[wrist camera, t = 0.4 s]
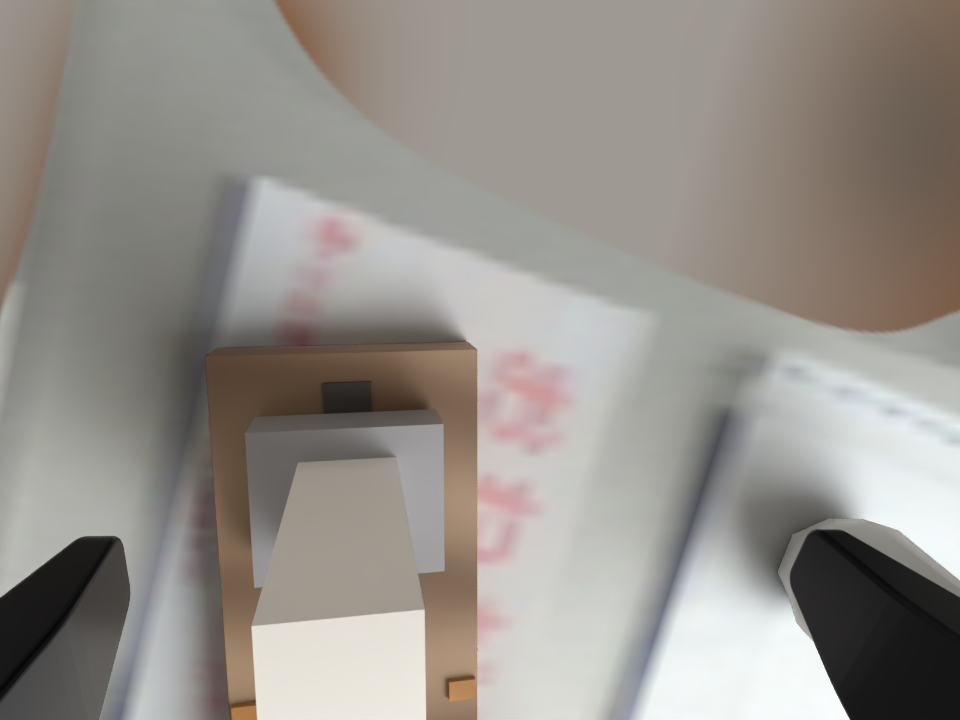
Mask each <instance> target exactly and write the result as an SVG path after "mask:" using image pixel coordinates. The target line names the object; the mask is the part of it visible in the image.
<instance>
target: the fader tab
mask: <svg viewBox="0 0 960 720" xmlns="http://www.w3.org/2000/svg"><path fill="white" fill-rule="evenodd" d="M245 443H246V459H247V476H248V492H249V509H250V525H251V542H252V559H253V575H254V588H259V587H262V591H261V594H260V598H259V601H258V605H257V608H256V612H255V615H254V619H253V622H252V626H251V629H252V645H253V661H254V677H255V693H256V709H257V720H426V672H425V609H424V603H423V598H422V593H421V587H420V582H419V576H418V574H419V573H430V572H441V571H445V552H444V434H443V422H442V420H441V418H440V416H439V414H438V412H437V410H436V409H427V410H404V411H380V412H357V413H333V414H310V415H286V416H263V417H255V418H254V419H253V421H252V423H251V424H250V426H249V428H248V429H247V431H246V432H245Z"/></svg>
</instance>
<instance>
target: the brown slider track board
mask: <svg viewBox="0 0 960 720" xmlns="http://www.w3.org/2000/svg"><path fill="white" fill-rule="evenodd" d="M205 365H206V379H207V394H208V408H209V422H210V437H211V451H212V465H213V480H214V494H215V509H216V523H217V537H218V552H219V566H220V581H221V595H222V609H223V624H224V638H225V652H226V667H227V681H228V696H229V710H230V720H257V709H256V693H255V677H254V661H253V645H252V629H251V626H252V622H253V619H254V615H255V612H256V608H257V605H258V601H259V598H260V594H261V591H262V587H259V588H254V575H253V559H252V542H251V525H250V509H249V492H248V476H247V459H246V443H245V432H246V431H247V429H248V428H249V426H250V424H251V423H252V421H253V419H254V418H255V417H263V416H286V415H310V414H333V413H357V412H380V411H404V410H427V409H436V410H437V412H438V414H439V416H440V418H441V420H442V422H443V434H444V552H445V571H441V572H430V573H419V574H418V576H419V582H420V587H421V593H422V598H423V603H424V609H425V672H426V720H477V349H476V348H475V347H473V346H472V345H471V344H470V343H469V342H441V343H400V344H358V345H317V346H276V347H235V348H217V349H215V350H214V351H213V352H211V353H210V354H208V355H207V356H205Z"/></svg>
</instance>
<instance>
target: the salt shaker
mask: <svg viewBox="0 0 960 720" xmlns="http://www.w3.org/2000/svg"><path fill="white" fill-rule="evenodd" d="M815 529H840V530H843V531H845V532H847V533H849V534H851V535H853V536H854V537H856V538H858V539H859V540H861V541H863V542H865V543H866V544H868V545H870V546H872V547H873V548H875V549H877V550H879V551H880V552H882V553H884V554H886V555H887V556H889V557H891V558H893V559H894V560H896V561H898V562H900V563H901V564H903V565H905V566H907V567H908V568H910V569H912V570H914V571H915V572H917V573H919V574H921V575H922V576H924V577H926V578H927V579H929V580H931V581H933V582H934V583H936V584H938V585H940V586H941V587H943V588H945V589H947V590H948V591H950V592H952V593H954V594H955V595H957V596H959V597H960V580H958V579H957V578H956V577H955V576H953V575H952V574H951V573H950V572H949V571H947V570H946V569H945V568H944V567H942V566H941V565H940V564H939V563H938V562H936V561H935V560H934V559H933V558H931V557H930V556H929V555H928V554H926V553H925V552H924V551H923V550H922V549H920V548H919V547H918V546H917V545H915V544H914V543H913V542H912V541H911V540H909V539H908V538H907V537H906V536H904V535H903V534H902V533H901V532H900V531H898V530H895V529H892V528H889V527H886V526H883V525H880V524H877V523H873V522H870V521H867V520H864V519H826V520H823V521H821V522H819V523H817V524H814V525H812V526H810V527H808V528H805V529H803V530H801V531H799V532H796V533H794V534H792V536H791V539H790V541H789V544H788V546H787V549H786V551H785V554H784V556H783V559H782V561H781V564H780V566H779V569H778V571H777V572H778V574H779V576H780V579H781V581H782V583H783V585H784V587H785V590H786V592H787V594H788V596H789V599H790V603H791V606H792V609H793V613H794V616H795V619H796V623H797V624H798V625H799V626H800V628H801V629H802V630H803V631H804V632H805V633H806V634H807V635H808V636H809V637H810V638H811V639H812V636H811V634H810V632H809V629H808V627H807V625H806V622H805V620H804V618H803V615H802V613H801V610H800V608H799V606H798V603H797V601H796V599H795V596H794V594H793V592H792V589H791V586H790V577H789V576H790V570H791V568H792V566H793V563H794V561H795V559H796V557H797V555H798V553H799V550H800V548H801V546H802V544H803V542H804V540H805V537H806V536H807V534H808V533H809V532H811V531H812V530H815ZM812 640H813V639H812ZM813 642H814V641H813Z"/></svg>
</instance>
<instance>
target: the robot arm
mask: <svg viewBox="0 0 960 720" xmlns="http://www.w3.org/2000/svg"><path fill="white" fill-rule="evenodd" d="M789 577H790V586H791V589H792V592H793V594H794V596H795V599H796V601H797V603H798V606H799V608H800V610H801V613H802V615H803V618H804V620H805V622H806V625H807V627H808V629H809V632H810V634H811V636H812V639H813V641H814V643H815V646H816V648H817V650H818V653H819V655H820V657H821V660H822V662H823V665H824V667H825V669H826V672H827V674H828V676H829V678H830V681H831V683H832V685H833V687H834V689H835V692H836V694H837V696H838V698H839V700H840V702H841V704H842V706H843V708H844V710H845V711H846V713H847V715H848V717H849V719H850V720H960V597H959V596H957V595H955V594H954V593H952V592H950V591H948V590H947V589H945V588H943V587H941V586H940V585H938V584H936V583H934V582H933V581H931V580H929V579H927V578H926V577H924V576H922V575H921V574H919V573H917V572H915V571H914V570H912V569H910V568H908V567H907V566H905V565H903V564H901V563H900V562H898V561H896V560H894V559H893V558H891V557H889V556H887V555H886V554H884V553H882V552H880V551H879V550H877V549H875V548H873V547H872V546H870V545H868V544H866V543H865V542H863V541H861V540H859V539H858V538H856V537H854V536H853V535H851V534H849V533H847V532H845V531H843V530H840V529H815V530H812V531H811V532H809V533H808V534H807V536H806V537H805V540H804V542H803V544H802V546H801V548H800V550H799V553H798V555H797V557H796V559H795V561H794V563H793V566H792V568H791V570H790V576H789ZM129 601H130V583H129V577H128V571H127V565H126V559H125V553H124V547H123V544H122V542H121V540H120V539H119V538H118V537H115V536H85V537H81V538H79V539H77V540H75V541H74V542H72V543H71V544H70V545H68V546H67V547H66V548H64V549H63V550H62V551H60V552H59V553H58V554H57V555H55V556H54V557H53V558H51V559H50V560H49V561H47V562H46V563H45V564H44V565H42V566H41V567H40V568H38V569H37V570H36V571H34V572H33V573H32V574H31V575H29V576H28V577H27V578H25V579H24V580H23V581H21V582H20V583H19V584H18V585H16V586H15V587H14V588H12V589H11V590H10V591H8V592H7V593H6V594H5V595H3V596H2V597H1V598H0V720H99V717H100V714H101V710H102V706H103V702H104V698H105V695H106V691H107V687H108V683H109V679H110V676H111V672H112V668H113V664H114V660H115V657H116V653H117V649H118V645H119V641H120V638H121V634H122V630H123V626H124V622H125V619H126V615H127V611H128V607H129Z"/></svg>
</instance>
